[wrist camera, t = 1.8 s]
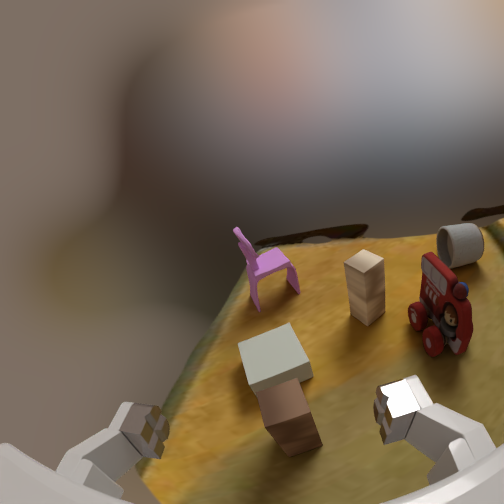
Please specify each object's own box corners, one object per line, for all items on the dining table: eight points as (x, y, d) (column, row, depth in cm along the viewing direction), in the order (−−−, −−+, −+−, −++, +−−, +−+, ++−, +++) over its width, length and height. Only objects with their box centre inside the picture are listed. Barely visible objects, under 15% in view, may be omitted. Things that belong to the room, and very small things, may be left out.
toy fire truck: (436, 373, 25) (453, 317, 20) (402, 312, 36) (404, 256, 31) (476, 352, 24) (497, 293, 19) (437, 298, 35) (443, 242, 30)
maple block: (368, 300, 41) (363, 249, 37) (385, 311, 38) (383, 258, 33) (350, 314, 40) (343, 262, 36) (367, 326, 37) (363, 272, 32)
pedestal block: (294, 340, 40) (289, 322, 38) (313, 377, 33) (309, 361, 31) (246, 359, 39) (237, 343, 38) (258, 399, 32) (248, 384, 30)
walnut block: (312, 418, 27) (297, 377, 23) (322, 445, 23) (310, 411, 19) (280, 430, 27) (256, 391, 22) (288, 456, 23) (264, 427, 19)
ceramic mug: (484, 267, 35) (488, 229, 32) (451, 277, 37) (454, 239, 34) (459, 240, 44) (460, 207, 41) (428, 248, 46) (428, 214, 43)
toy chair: (305, 295, 48) (284, 220, 41) (260, 315, 47) (231, 242, 40) (288, 274, 55) (267, 207, 49) (248, 292, 54) (222, 226, 48)
